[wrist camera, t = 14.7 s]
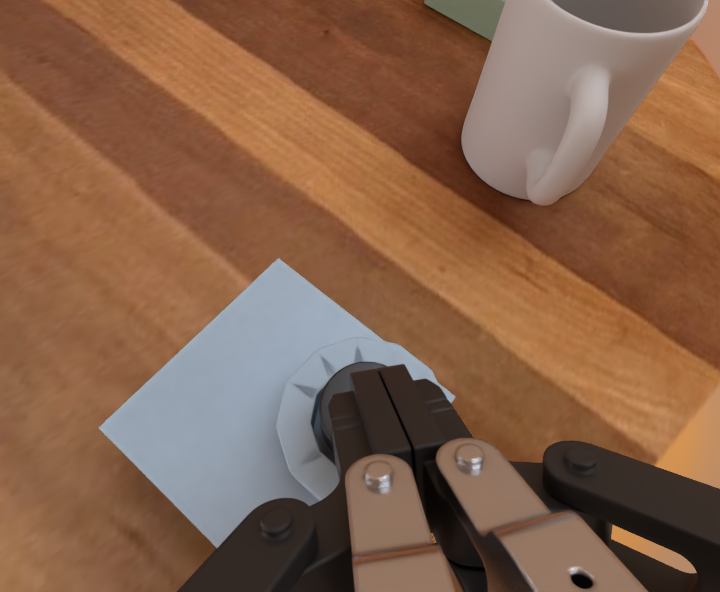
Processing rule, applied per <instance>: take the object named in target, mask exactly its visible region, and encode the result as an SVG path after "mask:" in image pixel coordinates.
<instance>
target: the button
mask: <svg viewBox="0 0 720 592" xmlns="http://www.w3.org/2000/svg"><path fill="white" fill-rule="evenodd" d="M381 367H387V366H386V365H383V364H380V363H376V362H357V363H353V364H350V365H348V366H345V367H343V368H342V369H340V370H339V371H337V372H336V373H335V374H334V375H333V376H332V377H331V378H330V379H329V381H328V382H327V383H326V385H325V387H324V389H323V391H322V394H321V398H320V403H319V417H320V427H321V432H322V436H323V438H324V440H325V442H326V444H327V446H328V447H329V448H330V450H331V451H332V452H333V453H334V450H333V442H332V435H331V427H330V420H329V412H328V405H329V402H330V400H331V398H332V396H333V394H337V393H343V392H349V391H351V390H350V381H349V373H351V372H357V371H363V370H369V369H375V368H376V369H377V368H381Z"/></svg>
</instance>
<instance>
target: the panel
mask: <svg viewBox="0 0 720 592" xmlns="http://www.w3.org/2000/svg"><path fill="white" fill-rule="evenodd" d="M505 2H506V0H425V2H424V4H426V5H427V6H429V7H431V8H433V9H435V10H436V11H438V12H440V13H442V14H444V15H445V16H447V17H449V18H451V19H452V20H454V21H456V22H458V23H460V24H461V25H463V26H465V27H467V28H469V29H470V30H472V31H474V32H476V33H478V34H479V35H481V36H483V37H485V38H486V39H488V40H490V41H492V40H493V37H494V34H495V31H496V28H497V25H498V22H499V19H500V16H501V14H502V11H503V8H504V5H505Z"/></svg>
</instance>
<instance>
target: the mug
mask: <svg viewBox="0 0 720 592" xmlns="http://www.w3.org/2000/svg"><path fill="white" fill-rule="evenodd" d="M707 6H708V0H506V2H505V5H504V8H503V11H502V14H501V16H500V19H499V22H498V25H497V28H496V31H495V34H494V37H493V40H492V43H491V46H490V49H489V52H488V55H487V58H486V61H485V64H484V67H483V70H482V73H481V76H480V79H479V82H478V85H477V88H476V91H475V94H474V97H473V99H472V102H471V105H470V107H469V110H468V113H467V115H466V118H465V122H464V125H463V129H462V137H461V141H462V149H463V153H464V155H465V158H466V160H467V162H468V163H469V165H470V167H471V168H472V169H473V171H474V172H475V173H476V174H477V175H478V176H479V177H480V178H481V179H482V180H483V181H484V182H486V183H487V184H488V185H490V186H491V187H493V188H494V189H496V190H498V191H500V192H502V193H504V194H507V195H510V196H512V197H516V198H520V199H526V200H530V201H532V202H533V203H535V204H538V205H550V204H553V203H554V202H556V201H557V200H558V199H560V198H561V197H562V196H565V195H567V194H569V193H571V192H572V191H574V190H575V189H577V188H578V187H579V186H580V185H581V184H582V183H584V181H585V180H586V179H587V178H588V177H589V175H590V174H591V173H592V171H593V170H594V168H595V167H596V166H597V164H598V163H599V161H600V160H601V158H602V157H603V155H604V154H605V152H606V151H607V150H608V148H609V147H610V145H611V144H612V143H613V141H614V140H615V138H616V137H617V136H618V134H619V133H620V132H621V130H622V129H623V127H624V126H625V125H626V123H627V122H628V121H629V119H630V118H631V117H632V115H633V114H634V113H635V111H636V110H637V108H638V107H639V106H640V104H641V103H642V102H643V100H644V99H645V98H646V96H647V95H648V94H649V92H650V91H651V89H652V88H653V87H654V85H655V84H656V83H657V81H658V80H659V79H660V77H661V76H662V74H663V73H664V72H665V70H666V69H667V68H668V66H669V65H670V64H671V62H672V61H673V60H674V58H675V57H676V55H677V54H678V53H679V51H680V50H681V49H682V47H683V46H684V45H685V43H686V42H687V41H688V39H689V38H690V36H691V35H692V34H693V32H694V31H695V30H696V28H697V27H698V25H699V24H700V22H701V21H702V19H703V17H704V15H705V12H706V10H707Z"/></svg>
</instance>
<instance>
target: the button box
mask: <svg viewBox="0 0 720 592" xmlns="http://www.w3.org/2000/svg"><path fill="white" fill-rule="evenodd" d="M357 362H376V363H380V364H383V365H386V366H393V365H399V364H404V365H405V366H406V368H407V370H408V371H409V373H410V375H411V377H412V378H413V380H419V379H425V378H426V379H428V380H430V381H431V382H433V383H435V384H436V385H438V386H440V388H441V389H442V391H443V392H444V394H445V395H446V397H447V400H449V402H450V403H452V402H453V400H454V399H455V396H454V395H453V394H452V393H450V392H449V391H448V390H447V389H445V388H444V387H443V386H441V385H440V384H439V383H438V382H437V380H436V378H435V375H434V373H433V371H432V370H431V369H430V368H429V367H427V366H426V365H425V364H424V363H422V362H421V361H420V360H418V359H417V358H416V357H415V356H413V355H412V354H411V353H409V352H408V351H407V350H405V349H404V348H403V347H402V346H400V345H399V344H396V343H392V342H386V341H384V340H383V339H381V338H380V337H379V336H377V335H376V334H375V333H374V332H372V331H371V330H370V329H369V328H367V327H366V326H365V325H363V324H362V323H361V322H360V321H358V320H357V319H356V318H354V317H353V316H352V315H351V314H349V313H348V312H347V311H345V310H344V309H343V308H342V307H340V306H339V305H338V304H337V303H335V302H334V301H333V300H331V299H330V298H329V297H328V296H326V295H325V294H324V293H322V292H321V291H320V290H319V289H317V288H316V287H315V286H313V285H312V284H311V283H310V282H308V281H307V280H306V279H305V278H303V277H302V276H301V275H299V274H298V273H297V272H296V271H294V270H293V269H292V268H290V267H289V266H288V265H287V264H285V263H284V262H283V261H281V260H280V259H279V258H278V259H277V260H276V261H275V262H274V263H273V264H272V265H271V266H270V267H269V268H267V269H266V270H265V271H264V272H263V273H262V274H261V275H260V276H259V277H258V278H257V279H256V280H255V281H254V282H253V283H252V284H251V285H249V286H248V287H247V288H246V289H245V290H244V291H243V292H242V293H241V294H240V295H239V296H238V297H237V298H236V299H235V300H234V301H232V302H231V303H230V304H229V305H228V306H227V307H226V308H225V309H224V310H223V311H222V312H221V313H220V314H219V315H218V316H217V317H215V318H214V319H213V320H212V321H211V322H210V323H209V324H208V325H207V326H206V327H205V328H204V329H203V330H202V331H201V332H200V333H198V334H197V335H196V336H195V337H194V338H193V339H192V340H191V341H190V342H189V343H188V344H187V345H186V346H185V347H184V348H183V349H181V350H180V351H179V352H178V353H177V354H176V355H175V356H174V357H173V358H172V359H171V360H170V361H169V362H168V363H167V364H166V365H164V366H163V367H162V368H161V369H160V370H159V371H158V372H157V373H156V374H155V375H154V376H153V377H152V378H151V379H150V380H149V381H147V382H146V383H145V384H144V385H143V386H142V387H141V388H140V389H139V390H138V391H137V392H136V393H135V394H134V395H133V396H132V397H130V398H129V399H128V400H127V401H126V402H125V403H124V404H123V405H122V406H121V407H120V408H119V409H118V410H117V411H116V412H115V413H113V414H112V415H111V416H110V417H109V418H108V419H107V420H106V421H105V422H104V423H103V424H102V425H101V426H100V427H99V429H100V430H101V431H102V432H103V433H104V434H105V435H106V436H107V437H108V438H109V439H110V440H111V441H112V442H113V443H114V444H115V445H116V446H117V447H118V448H119V449H120V450H121V451H122V452H123V453H124V454H125V455H126V456H127V457H128V459H129V460H130V461H131V462H132V463H133V464H134V465H135V466H136V467H137V468H138V469H139V470H140V471H141V472H142V473H143V474H144V475H145V476H146V477H147V478H148V479H149V480H150V481H151V482H152V483H153V484H154V485H155V486H156V487H157V488H158V489H159V490H160V491H161V492H162V493H163V494H164V495H165V496H166V497H167V498H168V499H169V500H170V501H171V502H172V503H173V504H174V505H175V506H176V507H177V508H178V509H179V510H180V511H181V512H182V513H183V514H184V515H185V516H186V517H187V518H188V519H189V520H190V521H191V522H192V523H193V524H194V525H195V526H196V527H197V528H198V530H199V531H200V532H201V533H202V534H203V535H204V536H205V537H206V538H207V539H208V540H209V541H210V542H211V543H212V544H213V545H214V546H215V547H216V548H218V547H219V546H220V545H221V543H222V542H223V541H224V540H225V539H226V538H227V537H228V536H229V535H230V534H231V533H232V532H233V530H234V529H235V528H236V527H237V526H238V525H239V524H240V523H241V522H242V521H243V520H244V519H245V517H246V516H247V515H248V514H249V513H250V512H251V511H252V510H254V509H255V508H256V507H258V506H260V505H261V504H263V503H265V502H268V501H270V500H274V499H279V498H294V499H298V500H301V501H303V502H305V503H306V504H307V505H308V506H311V505H313V504H315V503H317V502H319V501H321V500H323V499H324V498H325V497H327V496H328V495H329V494H330V493H332V492H333V490H334V489H335V488H336V487H337V485H338V483H339V477H338V472H337V466H336V461H335V456H334V453H333V452H332V451H331V450H330V448H329V447H328V446H327V444H326V442H325V440H324V438H323V436H322V432H321V427H320V417H319V403H320V398H321V394H322V391H323V389H324V387H325V385H326V383H327V382H328V381H329V379H330V378H331V377H332V376H333V375H334V374H335V373H336V372H337V371H339V370H340V369H342V368H343V367H345V366H348V365H350V364H353V363H357Z"/></svg>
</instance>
